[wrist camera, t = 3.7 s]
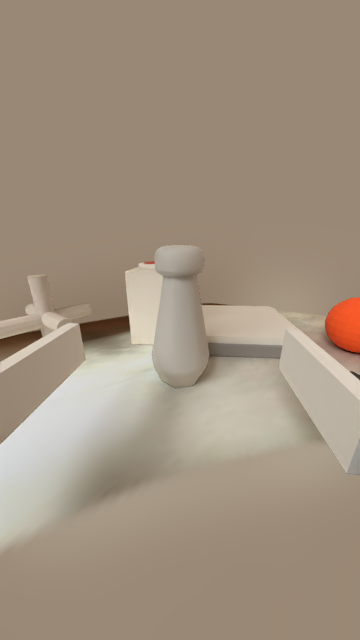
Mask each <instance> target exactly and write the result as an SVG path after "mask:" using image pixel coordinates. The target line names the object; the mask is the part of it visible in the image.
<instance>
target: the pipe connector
mask: <svg viewBox="0 0 360 640" xmlns="http://www.w3.org/2000/svg"><path fill="white" fill-rule="evenodd" d="M27 278H28V282H29V285H30V289H31V293H32V297H33V301H34V304H30V305H28V306H27V307H26V308H25V312H26V314H27V315H26V316H21V317H17V318H12V319H7V320H2V321H0V339H2V338H5V337H9V336H13V335H17V334H21V333H25V332H29V331H32V330H36V329H41V333H42V337H45V336H46V335H48V334H50V333H51V332H53V331H55V330H57V329H58V328H60V327H62V326H64V325H65V324H67V323H74V322H73V321H72V320H75V319H79V318H82V317H86V316H90V315H91V314H92V313H91V307H90V305H89V304H88V303H83V304H78V305H74V306H69V307H65V308H60V309H55V310H54V305H53V300H52V296H51V292H50V287H49V282H48V278H47V275H31V276H28V277H27Z"/></svg>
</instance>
